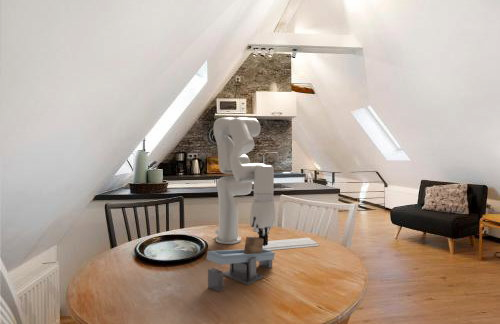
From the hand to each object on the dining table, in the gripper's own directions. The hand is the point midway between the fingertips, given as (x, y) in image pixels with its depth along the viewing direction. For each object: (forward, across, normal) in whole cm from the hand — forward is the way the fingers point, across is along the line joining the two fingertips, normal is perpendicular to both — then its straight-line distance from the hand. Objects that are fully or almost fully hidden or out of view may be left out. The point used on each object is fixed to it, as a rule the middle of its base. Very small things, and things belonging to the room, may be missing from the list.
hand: (263, 244), depth 119 cm
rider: (+2, +6, 0) cm, 6 cm away
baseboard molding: (+10, -27, -9) cm, 30 cm away
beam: (+2, +11, 0) cm, 12 cm away
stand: (+9, +11, 0) cm, 14 cm away
